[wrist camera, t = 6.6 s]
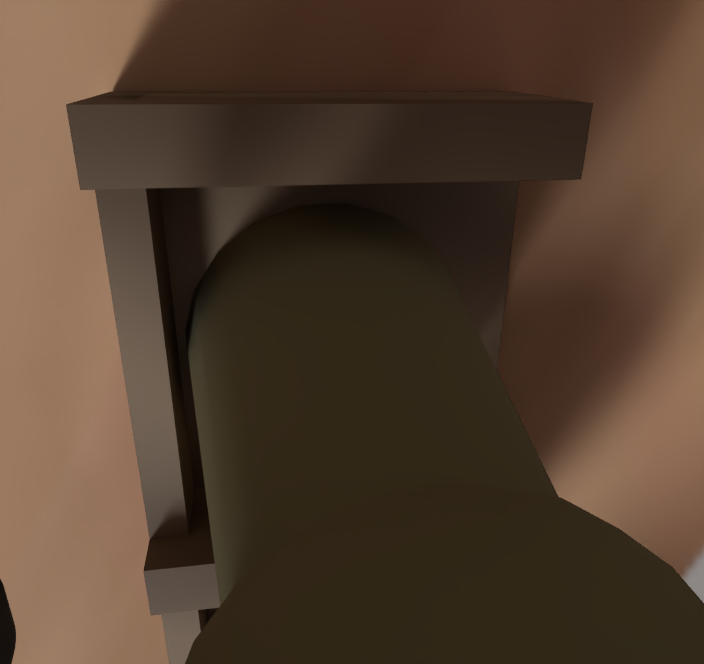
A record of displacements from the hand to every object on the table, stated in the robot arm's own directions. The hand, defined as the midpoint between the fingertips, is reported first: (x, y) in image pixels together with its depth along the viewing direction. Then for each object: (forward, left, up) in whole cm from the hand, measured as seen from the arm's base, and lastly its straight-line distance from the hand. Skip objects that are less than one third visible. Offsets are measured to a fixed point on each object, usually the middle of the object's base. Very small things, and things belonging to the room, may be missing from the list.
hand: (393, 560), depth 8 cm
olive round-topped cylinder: (0, 0, -7) cm, 7 cm away
